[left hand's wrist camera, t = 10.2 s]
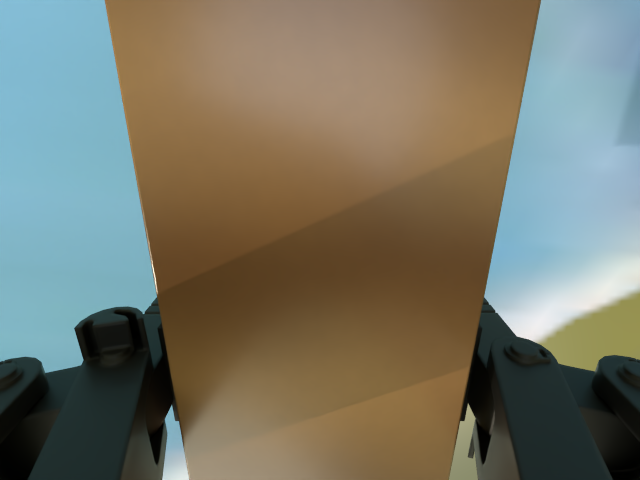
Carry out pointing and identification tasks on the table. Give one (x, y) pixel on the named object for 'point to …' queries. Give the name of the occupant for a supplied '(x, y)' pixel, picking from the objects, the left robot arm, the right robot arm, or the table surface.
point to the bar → (321, 219)
